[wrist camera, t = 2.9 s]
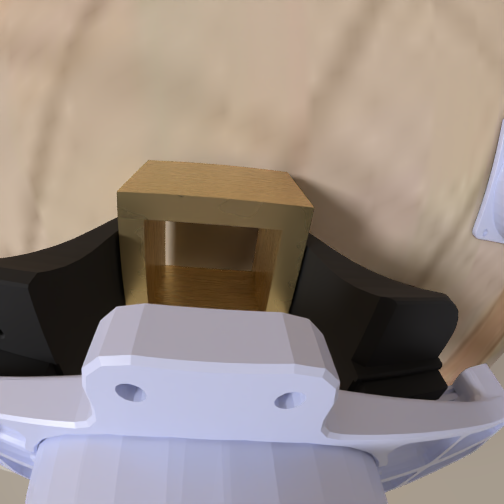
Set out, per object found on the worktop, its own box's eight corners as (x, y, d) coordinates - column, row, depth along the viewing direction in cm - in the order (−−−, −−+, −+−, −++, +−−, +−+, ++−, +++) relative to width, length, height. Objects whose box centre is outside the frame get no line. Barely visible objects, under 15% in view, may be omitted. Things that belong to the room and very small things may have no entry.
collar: (287, 172, 12) (314, 207, 9) (265, 286, 15) (279, 347, 11) (148, 160, 11) (116, 191, 8) (149, 278, 14) (131, 337, 10)
